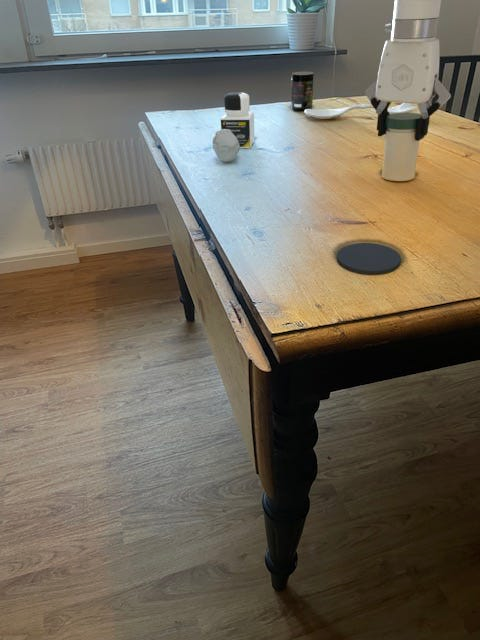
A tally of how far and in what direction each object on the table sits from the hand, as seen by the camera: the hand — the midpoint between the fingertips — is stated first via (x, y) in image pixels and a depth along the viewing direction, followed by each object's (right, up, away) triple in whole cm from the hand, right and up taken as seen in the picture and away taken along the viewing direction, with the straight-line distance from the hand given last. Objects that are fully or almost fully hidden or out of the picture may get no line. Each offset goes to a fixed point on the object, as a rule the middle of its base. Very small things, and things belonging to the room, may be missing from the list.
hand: (400, 136), depth 97 cm
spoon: (+4, +24, +49) cm, 55 cm away
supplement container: (-12, +31, +61) cm, 69 cm away
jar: (+1, -7, +4) cm, 8 cm away
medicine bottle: (-31, +9, +30) cm, 44 cm away
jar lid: (0, +3, -1) cm, 3 cm away
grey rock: (-34, +1, +19) cm, 39 cm away
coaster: (-13, -27, -24) cm, 38 cm away
